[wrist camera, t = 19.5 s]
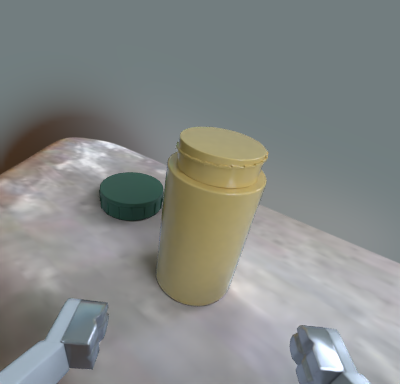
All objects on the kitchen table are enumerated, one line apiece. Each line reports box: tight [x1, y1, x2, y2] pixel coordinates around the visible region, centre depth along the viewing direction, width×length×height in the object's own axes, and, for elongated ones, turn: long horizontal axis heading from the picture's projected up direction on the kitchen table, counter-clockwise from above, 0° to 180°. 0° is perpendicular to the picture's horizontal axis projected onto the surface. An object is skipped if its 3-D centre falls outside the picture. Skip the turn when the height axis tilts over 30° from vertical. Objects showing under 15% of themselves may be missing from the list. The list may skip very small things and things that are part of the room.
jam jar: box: [156, 127, 268, 306], centre depth 16 cm, size 6×6×11 cm
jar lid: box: [99, 172, 164, 221], centre depth 24 cm, size 6×6×2 cm
